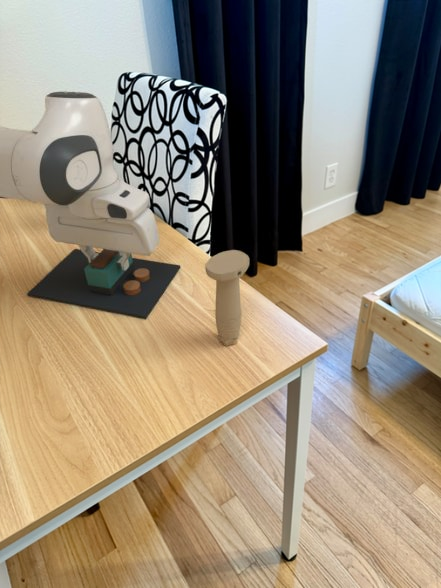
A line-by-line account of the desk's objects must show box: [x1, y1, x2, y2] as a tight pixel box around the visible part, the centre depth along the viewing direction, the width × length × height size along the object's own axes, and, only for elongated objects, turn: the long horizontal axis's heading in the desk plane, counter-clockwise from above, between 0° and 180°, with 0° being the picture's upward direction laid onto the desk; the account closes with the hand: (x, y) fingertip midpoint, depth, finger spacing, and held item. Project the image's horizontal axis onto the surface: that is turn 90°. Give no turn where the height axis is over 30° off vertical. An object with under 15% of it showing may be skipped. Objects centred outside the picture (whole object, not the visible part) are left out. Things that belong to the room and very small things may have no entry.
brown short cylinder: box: [123, 280, 141, 295], centre depth 78 cm, size 3×3×1 cm
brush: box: [84, 249, 134, 295], centre depth 79 cm, size 4×9×6 cm, turn 162°
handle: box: [204, 249, 250, 347], centre depth 64 cm, size 5×6×15 cm
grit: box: [133, 268, 150, 282], centre depth 81 cm, size 3×3×1 cm
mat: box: [26, 248, 181, 320], centre depth 82 cm, size 24×16×1 cm, turn 73°
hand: (109, 266), depth 79 cm, fingers closed on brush, 4 cm apart
